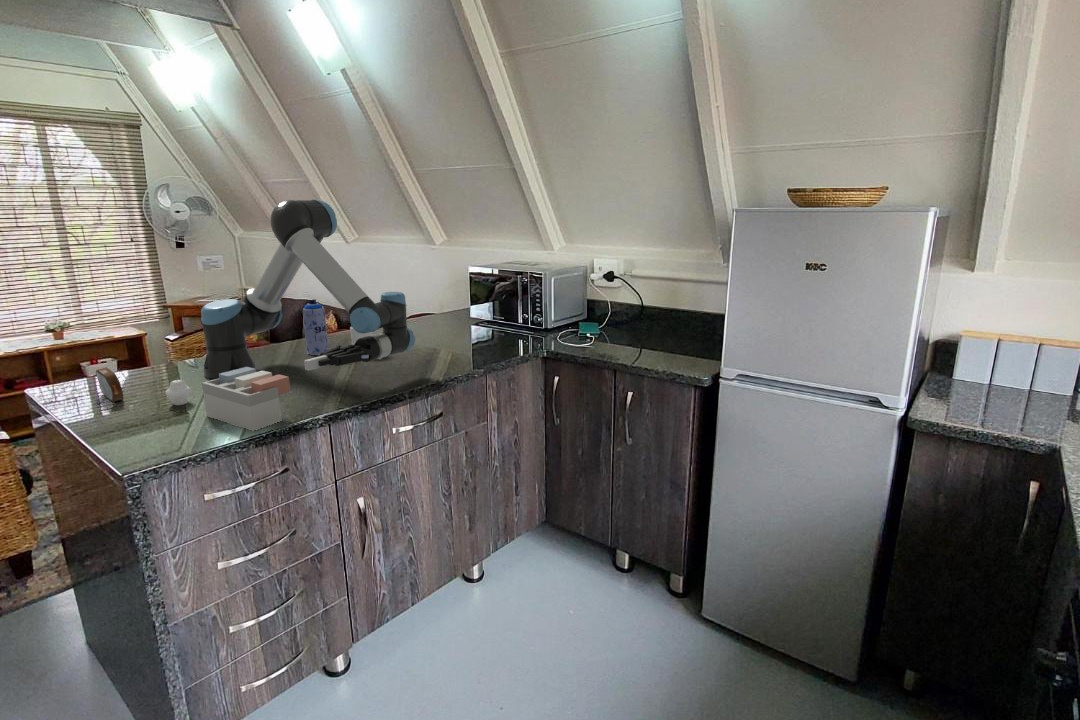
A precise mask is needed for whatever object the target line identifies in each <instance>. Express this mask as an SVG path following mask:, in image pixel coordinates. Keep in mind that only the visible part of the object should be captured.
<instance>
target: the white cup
mask: <svg viewBox="0 0 1080 720" xmlns="http://www.w3.org/2000/svg"><path fill="white" fill-rule="evenodd" d="M349 331H350V338H351V345H355V343H356V341H357V340H358V339H359V338H362V337H366V336H370V335H374V334H373V333H374V332H369V333H359V332H357V331H355V330H354V329H353V328H352V326H350V327H349Z"/></svg>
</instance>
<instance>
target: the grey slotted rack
mask: <svg viewBox="0 0 1080 720" xmlns="http://www.w3.org/2000/svg"><path fill="white" fill-rule="evenodd" d="M201 386H202V393H203V400H204V406H205V412H206V417H208V418H211V419H213V418H214V420H216V419H218V420H217V421H219V420H221V421H220V422H222V421H224V422H223V423H225V422H227V423H226V424H229V423H230V424H229V425H232V424H234V425H233V426H235V425H237V426H236V427H238V426H240V427H239V428H241V427H243V428H242V429H244V428H246V429H245V430H247V429H249V430H248V431H250V430H252V431H251V432H255V431H254V430H256V429H259V428H262V427H265V428H267V427H266V426H268V427H270V426H273V425H275V424H274V423H276V424H278V423H277V422H279V423H281V422H280V421H282V411H281V405H280V398H279V397H280V395H278V387H274V388H270V389H267V390H263V391H260V392H257V393H253V394H252V387H251V385H248V386H245V387H241V388H238V389H236V386H235V381H231V382H227V383H224V384H220V379H219V378H218V379H211V380H207V381H204V382H201ZM272 424H273V425H272ZM269 425H270V426H269ZM262 429H263V428H262ZM259 430H260V429H259ZM256 431H257V430H256Z"/></svg>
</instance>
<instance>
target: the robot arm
mask: <svg viewBox="0 0 1080 720" xmlns="http://www.w3.org/2000/svg"><path fill="white" fill-rule="evenodd" d="M269 222H270V227H271V231H272V233H273V234H274V236H275V238H276V240H277V241H278V242H279V245H278V247H277V249H276V251H275V252H274V254H273V256H272V257H271V259H270V261H269V263H268V265H267V267H266V269H265V270H264V271H263V273H262V276H261V277H260V278H259V280H258V283H257V284H256V286H255V287H251V288H249V289H248V290H247V291H246V293H245V295H244V297H243V299H242V300H241V301H240V300H238V299H236V298H230V299H229V298H227V299H226V298H225V299H220V300H214V301H212V302H208V303H206V304H204V305H203V306H202V307H201V310H200V314H201V318H200V322H201V324H202V331H203V336H204V342H205V350H206V355H205V360H204V364H203V375H204V377H205V378H208V379H211V380H215V379H218V378H219V374H220V373H224V372H228V371H232V370H236V369H240V368H244V367H250V368H254V369H256V370H257V368H256V364H255V361H254V359H253V357H252V355H251V353H250V351H249V350H248V346H247V340H246V337H248V336H252V335H256V334H259V333H263V332H264V333H265V332H268V331H271V330H273V329H274V328H276V327H277V326H278V325H279V324H280V322H281V320H282V318H283V313H282V311H283V309H282V306H283V305H282V301H281V300H282V298H283V297H284V294H285V293H286V291H287V290H288V288H289V287H290V284H291V283H292V281H293V280H294V278H295V276H296V275H297V273H298V271H299V269H300V268H301V266H302V265H303V264H304V266H305V267H306V268H307V269H308V270H309V271H310V272H311V273H312V274H313V275H314V276H315V278H316V279H317V280H318V281H319V283H321V284H322V285H323V286H324V287H325V289H326V290H327V291H328V292H329V293H330V294H331V295H332V296H333V297H334V299H336V301H337V302H338V304H340V305H341V306H342V307H343V308H344V309H345V311H346V312H347V313H348V314H349V323H350V326H351V327H352V328H353V329H354V330H355V331H357V332H359V333H369V332H373V333H374V332H376V331H378V330H379V329H382V332H378V333H374V334H373V335H370V336H366V337H362V338H359V339H358V340H357V341H356V343H355V345H352V344H350V345H349V344H348V346H345V347H343V346H342V345H337V346H336V347H333V348H330V349H329V350H328V351H325V352H322V353H320V355H318V356H316V357H312V358H308V359H304V360H303V361H304V363H303V364H304V370H305V371H313V370H316V369H319V368H323V367H324V368H325V367H327V366H335V367H337V366H343V365H349V364H355V363H358V362H363V363H368V362H372V361H376V360H382V358H385V357H389V356H392V355H397V354H402V353H403V352H407V351H408V350H410V349H412V348H413V347H414V346H415V344H416V337H415V335H414V332H413V330H412V329H411V328H409V327H408V325H407V324H408V323H407V301H406V295H405V294H404V293H403V292H401V291H386V292H382V293H381V295H380V300H379V301H378V302H376V303H375V302H374V301H373V300H372V299H371V298H370V296H368V294H367V293H366V292H365V291H364V290H363V289H362V287H360V286H359V284H358V283H357V282H356V281H355V280H354V279H353V278H352V276H350V275H349V273H348V272H347V271H346V270H345V269H344V268H343V266H342V265H341V264H339V262H338V260H336V259H335V258H334V257H333V256H332V254H330V252H329V251H328V250H327V249H326V248H325V247H324V246H323V245H322V242H323V239H324V238H328V237H330V236H332V235H333V234H334V233H336V230H337V228H338V220H337V217H336V212H335V210H334V209H333V208H332V207H331V205H330V204H329V203H327V202H326V201H323V200H317V199H313V198H312V199H305V200H304V199H287V200H283V201H281V202H279V203H278V204H277V205H275V207H274V208H273V209H272V211H271V214H270V221H269Z"/></svg>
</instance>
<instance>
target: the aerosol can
mask: <svg viewBox="0 0 1080 720" xmlns="http://www.w3.org/2000/svg"><path fill="white" fill-rule="evenodd" d="M325 311H326V310H325V308H324V306H323V305H322V304H321V303H319V302H317V300H316V298H315V299H309V302H308V303H306V305H304V307H302V316H303V325H304V335H305V343H306V344H305V345H306V355H307V354H315V355H318V354H320V353H322V352H325V351H328V350H330V349H329V340H328V332H327V330H328V329H327V320H326V319H327V318H326V312H325ZM318 356H319V355H318Z"/></svg>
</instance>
